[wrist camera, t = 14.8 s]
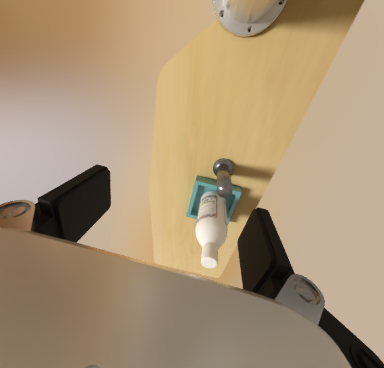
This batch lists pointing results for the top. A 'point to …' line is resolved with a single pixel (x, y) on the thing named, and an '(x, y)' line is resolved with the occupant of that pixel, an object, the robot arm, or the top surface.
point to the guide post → (223, 177)
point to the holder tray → (207, 185)
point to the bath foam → (211, 227)
